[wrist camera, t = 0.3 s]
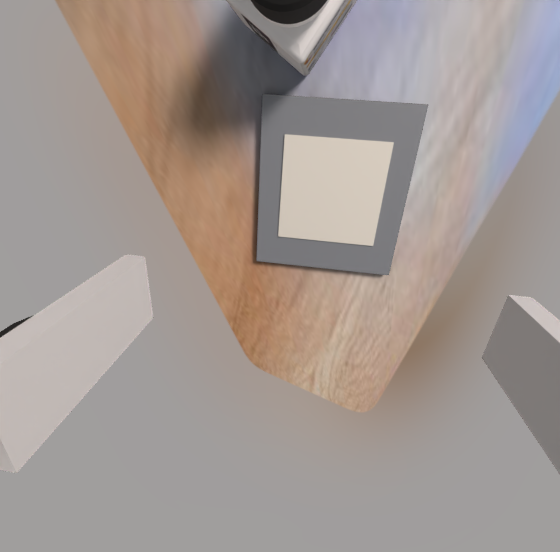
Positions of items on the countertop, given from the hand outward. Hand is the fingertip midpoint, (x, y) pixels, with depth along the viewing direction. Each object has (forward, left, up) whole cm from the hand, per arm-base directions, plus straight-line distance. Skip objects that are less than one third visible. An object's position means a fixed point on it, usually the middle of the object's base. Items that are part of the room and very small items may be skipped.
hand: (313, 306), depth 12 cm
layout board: (0, +1, -27) cm, 27 cm away
